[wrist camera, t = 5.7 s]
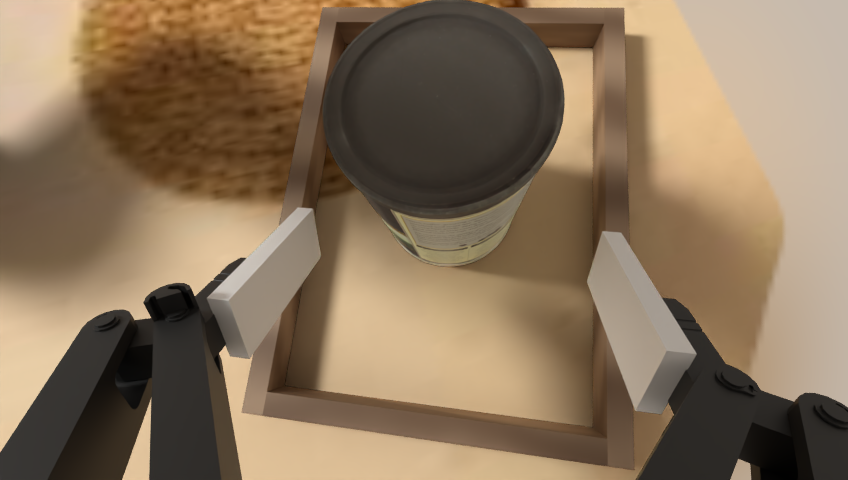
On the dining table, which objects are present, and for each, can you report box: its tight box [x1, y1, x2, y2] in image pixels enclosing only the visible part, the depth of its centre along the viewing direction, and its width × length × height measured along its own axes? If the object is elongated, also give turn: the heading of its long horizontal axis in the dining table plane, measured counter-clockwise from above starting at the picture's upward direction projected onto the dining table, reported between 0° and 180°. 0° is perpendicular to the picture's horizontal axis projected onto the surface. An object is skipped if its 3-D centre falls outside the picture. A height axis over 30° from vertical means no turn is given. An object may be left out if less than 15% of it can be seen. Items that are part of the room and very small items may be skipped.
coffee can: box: [323, 0, 564, 267], centre depth 22 cm, size 10×10×14 cm
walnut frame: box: [242, 7, 634, 470], centre depth 28 cm, size 33×25×2 cm
